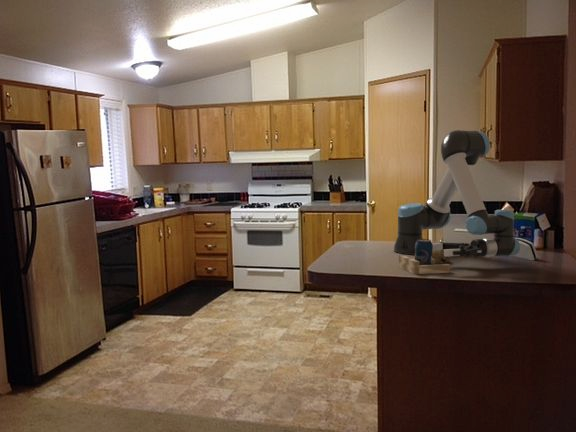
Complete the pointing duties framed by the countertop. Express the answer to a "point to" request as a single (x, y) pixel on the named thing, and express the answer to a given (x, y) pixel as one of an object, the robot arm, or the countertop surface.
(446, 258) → the bread roll
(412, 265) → the u bracket
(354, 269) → the countertop surface
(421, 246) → the soda can
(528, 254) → the white napkin holder
